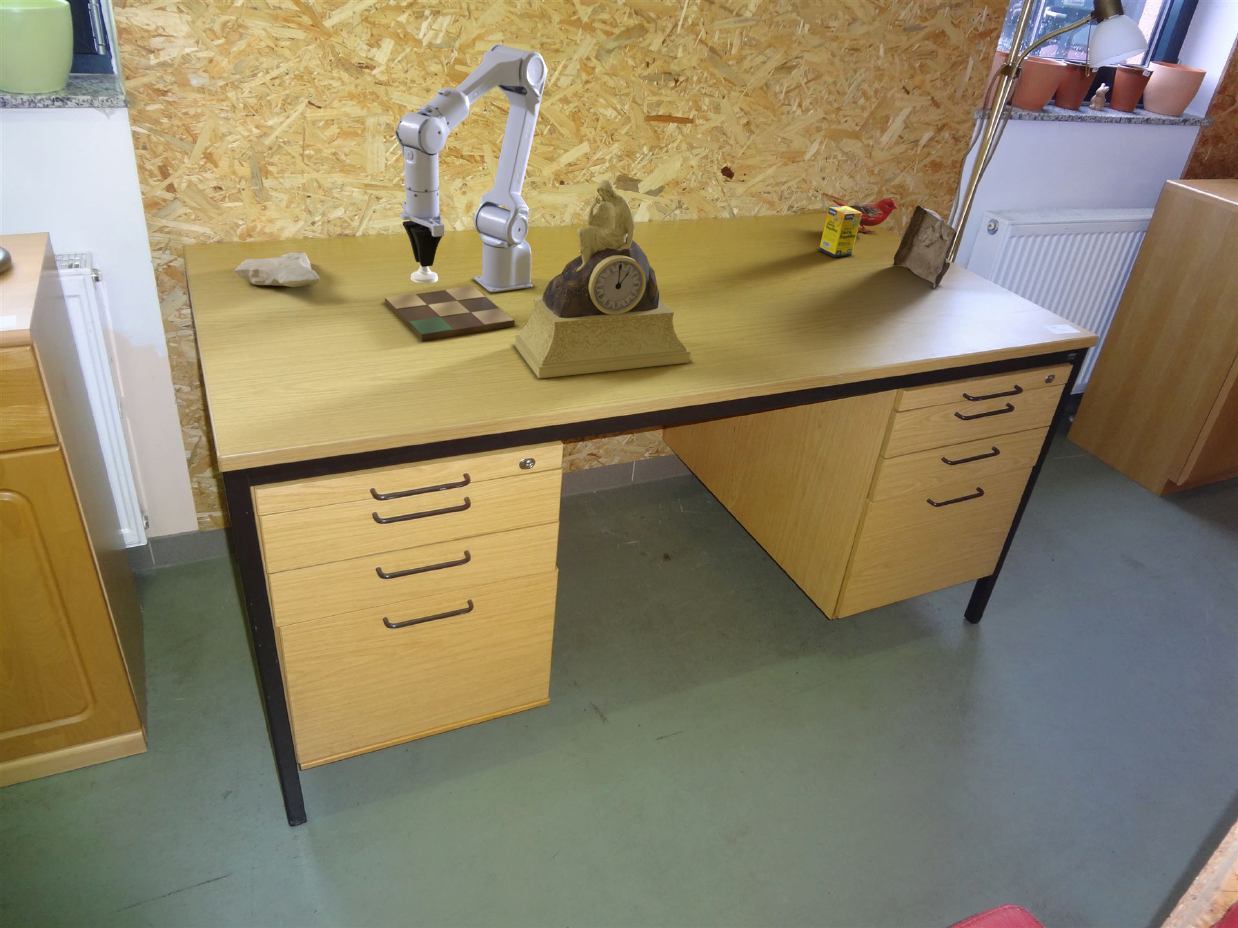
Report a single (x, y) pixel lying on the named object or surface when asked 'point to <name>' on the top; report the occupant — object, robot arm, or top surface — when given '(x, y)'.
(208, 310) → the top surface
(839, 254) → the supplement box
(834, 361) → the top surface
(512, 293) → the top surface
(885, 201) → the decorative bird figurine
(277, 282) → the rock
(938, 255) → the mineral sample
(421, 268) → the chess piece
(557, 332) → the decorative clock
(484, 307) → the game board
